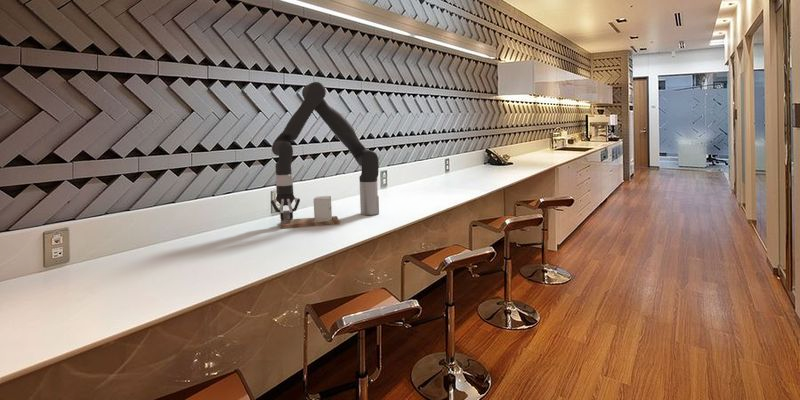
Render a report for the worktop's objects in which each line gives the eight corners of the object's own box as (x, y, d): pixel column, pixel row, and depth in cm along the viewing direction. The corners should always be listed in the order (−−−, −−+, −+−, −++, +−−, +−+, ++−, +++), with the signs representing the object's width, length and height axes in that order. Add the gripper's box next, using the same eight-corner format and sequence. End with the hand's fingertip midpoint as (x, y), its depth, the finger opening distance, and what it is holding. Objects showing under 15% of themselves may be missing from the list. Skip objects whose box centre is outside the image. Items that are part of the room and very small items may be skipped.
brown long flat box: (336, 218, 219) (336, 206, 218) (339, 224, 208) (339, 210, 207) (280, 223, 213) (279, 209, 212) (280, 228, 202) (279, 214, 200)
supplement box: (329, 224, 208) (328, 198, 206) (314, 224, 209) (312, 198, 206) (332, 221, 216) (331, 195, 213) (317, 221, 216) (316, 196, 214)
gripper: (299, 182, 210) (301, 217, 213) (269, 183, 206) (271, 219, 209) (300, 184, 203) (302, 220, 206) (268, 185, 199) (271, 223, 202)
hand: (286, 220), depth 208 cm, fingers closed on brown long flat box, 3 cm apart
